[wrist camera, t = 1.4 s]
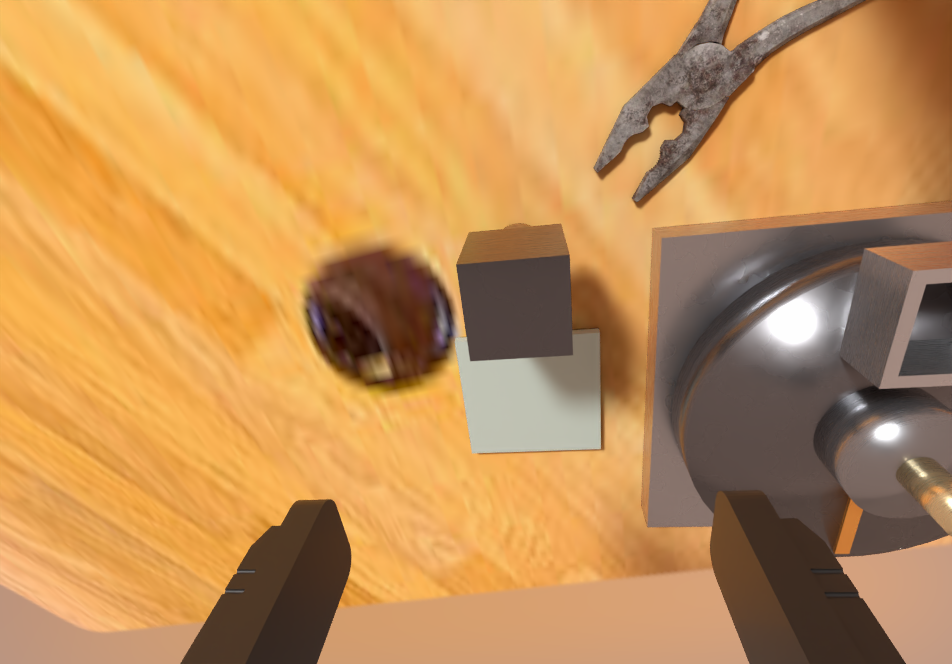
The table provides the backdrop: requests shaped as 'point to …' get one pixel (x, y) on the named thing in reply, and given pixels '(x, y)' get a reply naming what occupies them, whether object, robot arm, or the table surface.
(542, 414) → the mat
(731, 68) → the pliers
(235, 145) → the table surface
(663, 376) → the drill stand
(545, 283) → the block
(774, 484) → the chuck collar
